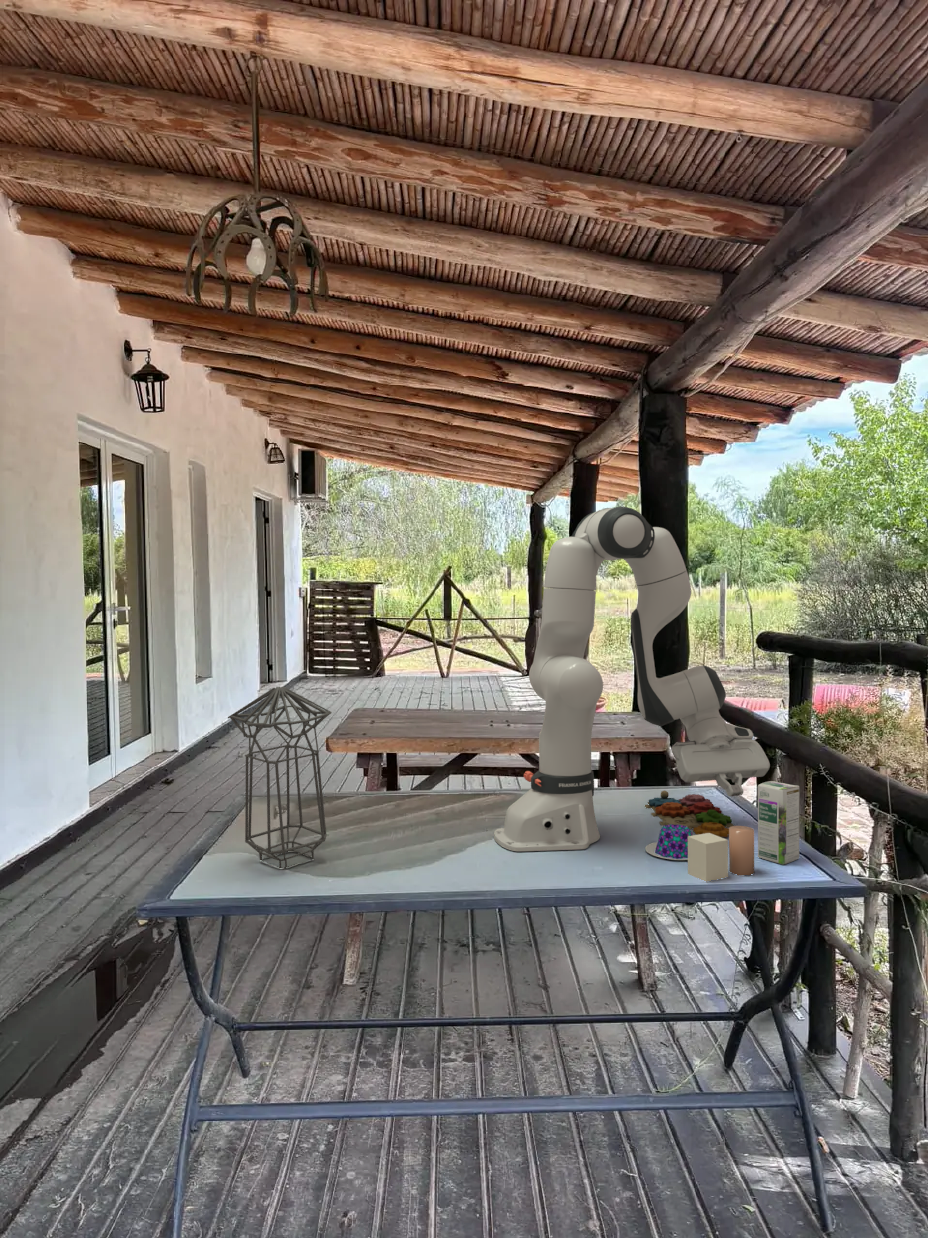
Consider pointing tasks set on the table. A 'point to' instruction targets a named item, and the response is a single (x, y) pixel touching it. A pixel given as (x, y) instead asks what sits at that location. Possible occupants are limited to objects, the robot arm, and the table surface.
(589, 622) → the robot arm
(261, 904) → the table surface
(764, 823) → the syrup box
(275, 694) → the geometric lantern
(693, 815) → the gear puzzle
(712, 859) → the cream block
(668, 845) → the pudding
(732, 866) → the terracotta cylinder
